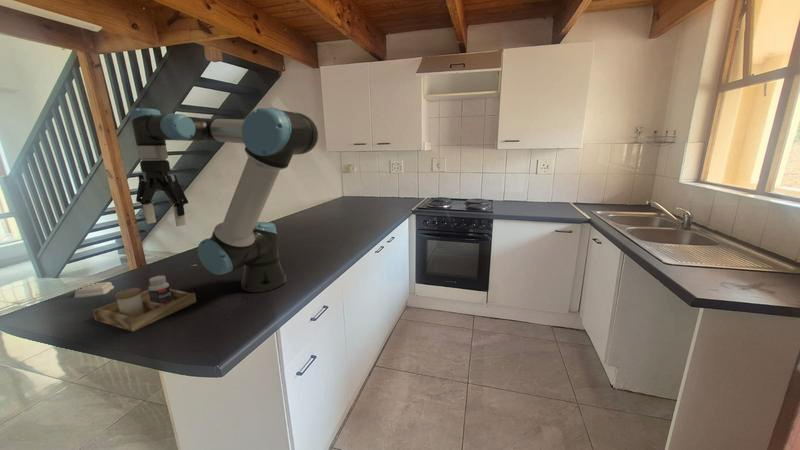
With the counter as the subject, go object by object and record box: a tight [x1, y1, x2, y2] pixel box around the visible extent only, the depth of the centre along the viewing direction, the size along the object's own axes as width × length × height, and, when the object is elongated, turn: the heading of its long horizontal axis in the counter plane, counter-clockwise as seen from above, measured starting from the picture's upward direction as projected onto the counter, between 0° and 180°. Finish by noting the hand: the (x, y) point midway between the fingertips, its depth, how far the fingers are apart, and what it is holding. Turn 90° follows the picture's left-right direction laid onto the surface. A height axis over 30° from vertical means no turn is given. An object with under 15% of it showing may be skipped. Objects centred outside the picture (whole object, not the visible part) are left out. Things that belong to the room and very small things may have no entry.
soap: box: [73, 281, 115, 299], centre depth 109 cm, size 9×7×3 cm
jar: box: [114, 287, 145, 318], centre depth 90 cm, size 6×6×8 cm
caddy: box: [91, 288, 197, 332], centre depth 95 cm, size 17×18×4 cm
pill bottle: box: [147, 275, 172, 304], centre depth 97 cm, size 5×5×9 cm
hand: (165, 224), depth 106 cm, fingers open, 13 cm apart
